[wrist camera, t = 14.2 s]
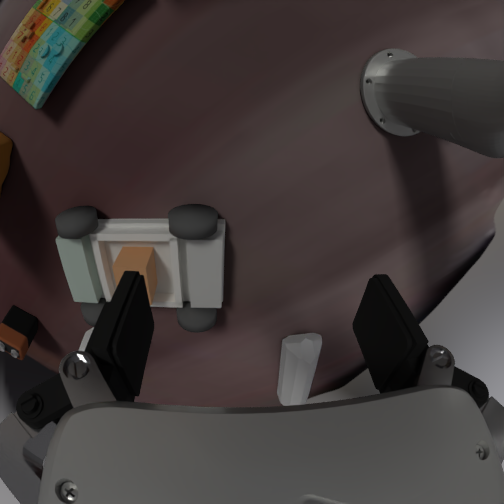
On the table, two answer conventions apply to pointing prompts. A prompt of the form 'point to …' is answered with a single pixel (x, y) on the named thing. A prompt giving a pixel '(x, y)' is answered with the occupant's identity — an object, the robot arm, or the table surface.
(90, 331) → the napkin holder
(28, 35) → the puzzle game
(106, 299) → the chassis
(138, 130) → the table surface
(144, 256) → the box with black knob
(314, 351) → the crystal
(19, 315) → the battery
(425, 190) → the table surface
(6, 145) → the coffee package
